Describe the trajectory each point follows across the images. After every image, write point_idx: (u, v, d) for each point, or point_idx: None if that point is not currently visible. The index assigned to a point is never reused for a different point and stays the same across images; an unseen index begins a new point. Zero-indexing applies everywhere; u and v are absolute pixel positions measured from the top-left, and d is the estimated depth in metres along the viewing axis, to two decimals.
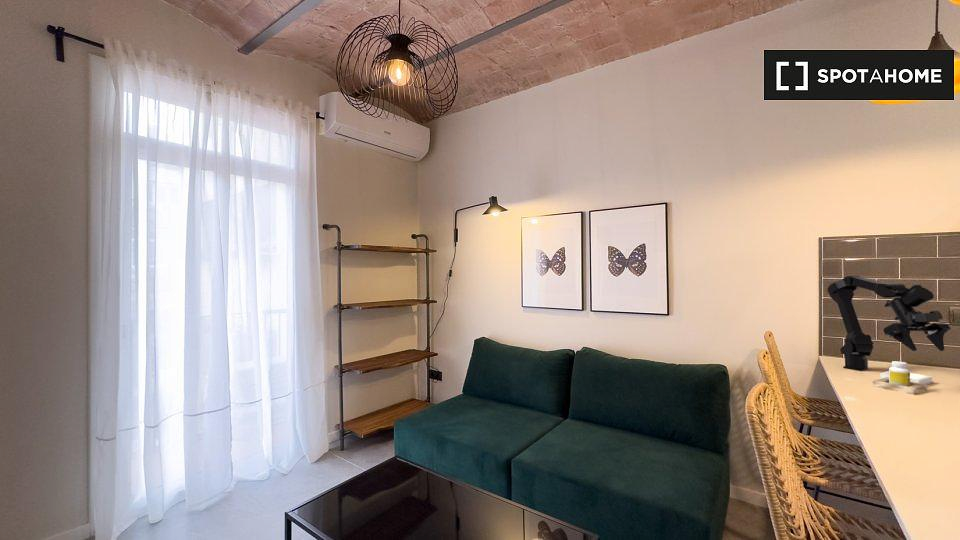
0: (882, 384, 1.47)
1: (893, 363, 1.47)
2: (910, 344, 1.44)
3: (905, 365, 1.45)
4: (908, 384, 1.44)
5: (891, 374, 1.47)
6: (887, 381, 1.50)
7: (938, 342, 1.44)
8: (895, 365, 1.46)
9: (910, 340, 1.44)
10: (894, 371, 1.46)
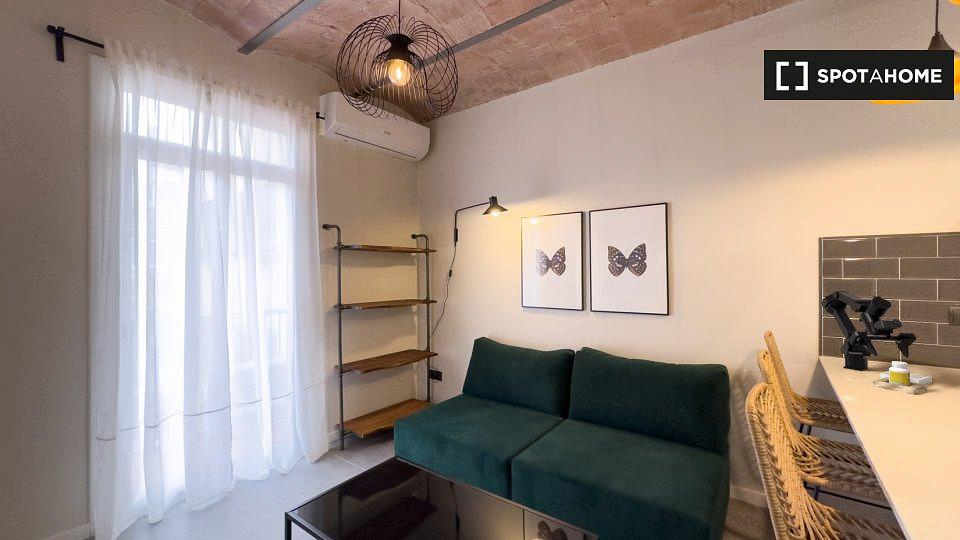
0: (882, 384, 1.47)
1: (893, 363, 1.47)
2: (872, 350, 1.54)
3: (905, 365, 1.45)
4: (908, 384, 1.44)
5: (891, 374, 1.47)
6: (887, 381, 1.50)
7: (904, 350, 1.51)
8: (895, 365, 1.46)
9: (871, 346, 1.54)
10: (894, 371, 1.46)
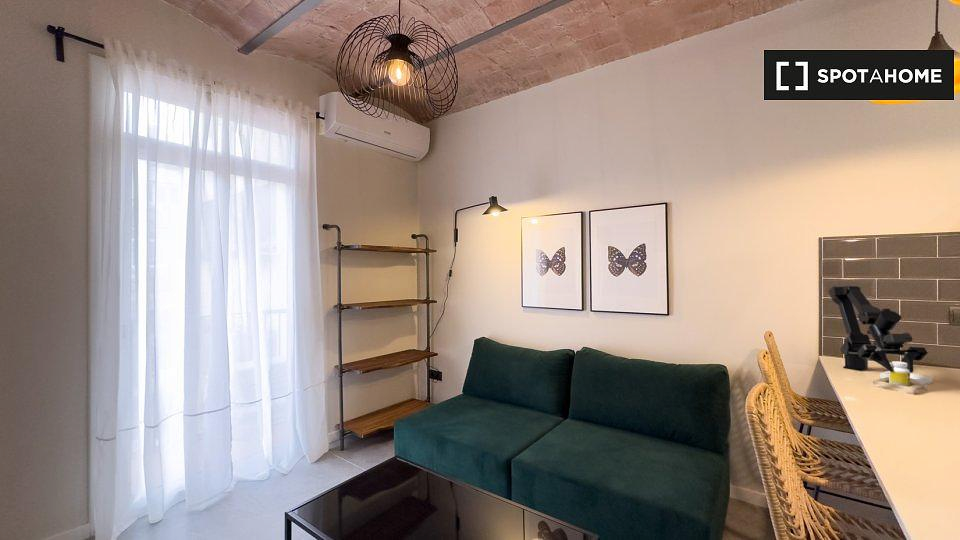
0: (882, 384, 1.47)
1: (893, 363, 1.47)
2: (887, 365, 1.48)
3: (905, 365, 1.45)
4: (908, 384, 1.44)
5: (891, 374, 1.47)
6: (887, 381, 1.50)
7: (908, 364, 1.46)
8: (895, 365, 1.46)
9: (886, 361, 1.48)
10: (894, 371, 1.46)
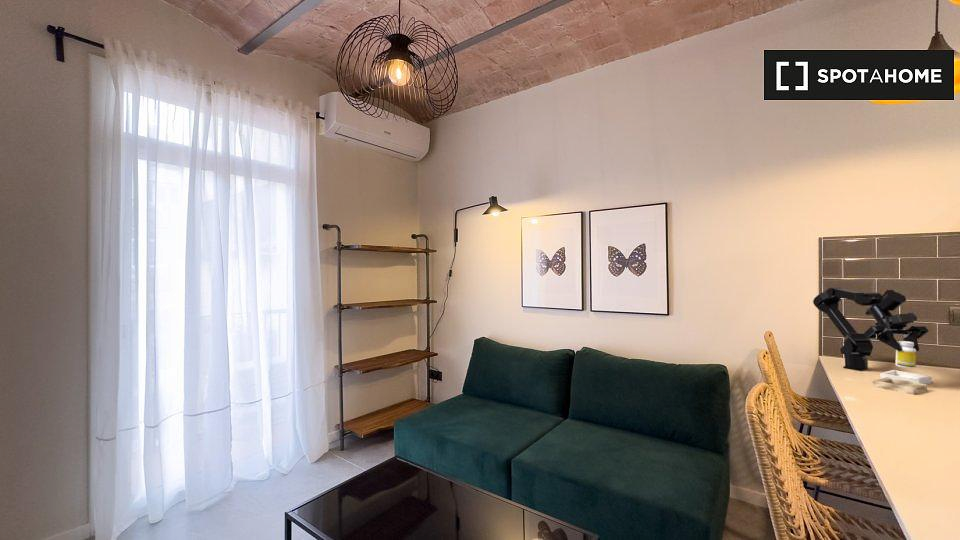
0: (882, 384, 1.47)
1: (901, 343, 1.50)
2: (895, 345, 1.51)
3: (912, 344, 1.49)
4: (915, 362, 1.48)
5: (899, 353, 1.50)
6: (887, 381, 1.50)
7: None
8: (903, 345, 1.50)
9: (894, 341, 1.51)
10: (902, 351, 1.49)
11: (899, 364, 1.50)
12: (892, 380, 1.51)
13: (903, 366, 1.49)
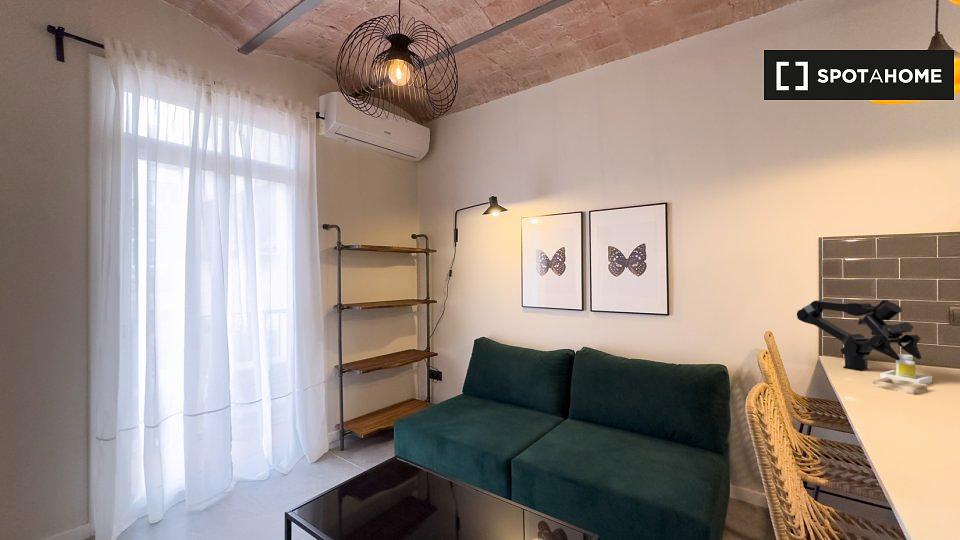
0: (882, 384, 1.47)
1: (901, 356, 1.55)
2: (893, 354, 1.55)
3: (912, 357, 1.53)
4: None
5: (900, 367, 1.55)
6: (887, 381, 1.50)
7: (914, 351, 1.56)
8: (904, 358, 1.54)
9: (892, 350, 1.55)
10: (904, 364, 1.54)
11: None
12: (892, 380, 1.51)
13: None
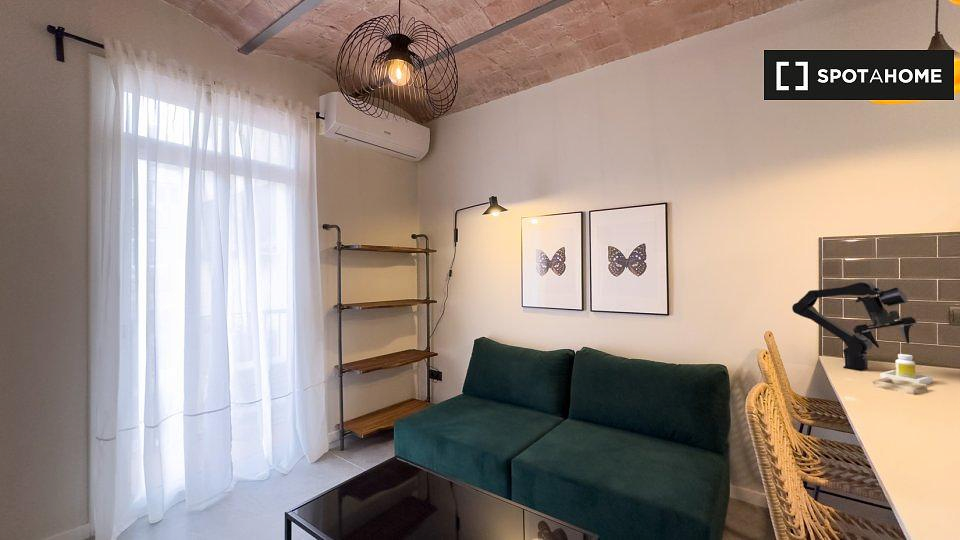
0: (882, 384, 1.47)
1: (901, 356, 1.55)
2: (873, 342, 1.65)
3: (912, 357, 1.53)
4: None
5: (900, 367, 1.55)
6: (887, 381, 1.50)
7: (904, 336, 1.61)
8: (904, 358, 1.54)
9: (873, 339, 1.65)
10: (903, 364, 1.54)
11: None
12: (892, 380, 1.51)
13: None
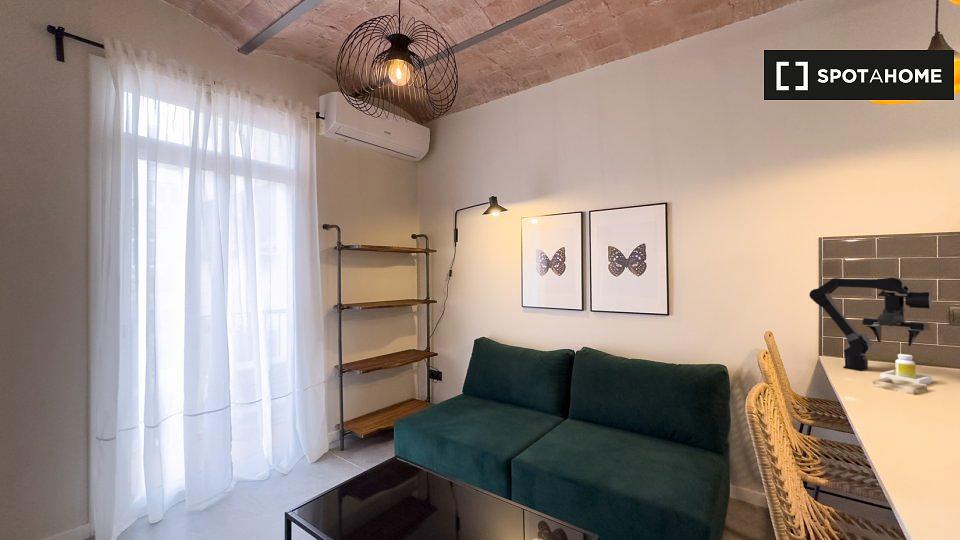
0: (882, 384, 1.47)
1: (901, 356, 1.55)
2: None
3: (912, 357, 1.53)
4: None
5: (900, 367, 1.55)
6: (887, 381, 1.50)
7: None
8: (904, 358, 1.54)
9: (876, 334, 1.68)
10: (903, 364, 1.54)
11: None
12: (892, 380, 1.51)
13: None
